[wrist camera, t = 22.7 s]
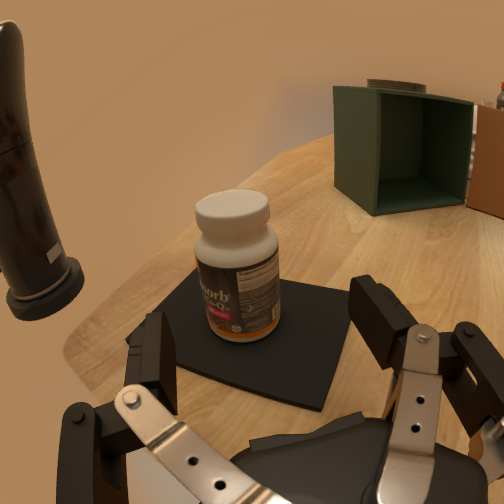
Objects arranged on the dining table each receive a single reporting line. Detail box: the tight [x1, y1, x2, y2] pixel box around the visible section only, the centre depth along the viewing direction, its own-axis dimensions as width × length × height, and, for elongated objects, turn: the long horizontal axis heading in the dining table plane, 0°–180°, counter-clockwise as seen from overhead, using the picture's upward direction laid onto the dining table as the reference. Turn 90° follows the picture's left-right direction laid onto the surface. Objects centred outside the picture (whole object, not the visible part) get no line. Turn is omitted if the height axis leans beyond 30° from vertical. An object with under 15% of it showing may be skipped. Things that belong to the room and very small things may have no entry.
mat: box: [125, 268, 351, 412], centre depth 25 cm, size 16×12×1 cm
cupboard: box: [333, 86, 474, 216], centre depth 42 cm, size 13×19×17 cm
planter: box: [367, 79, 426, 93], centre depth 94 cm, size 22×22×20 cm
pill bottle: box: [194, 189, 280, 343], centre depth 22 cm, size 6×6×10 cm
